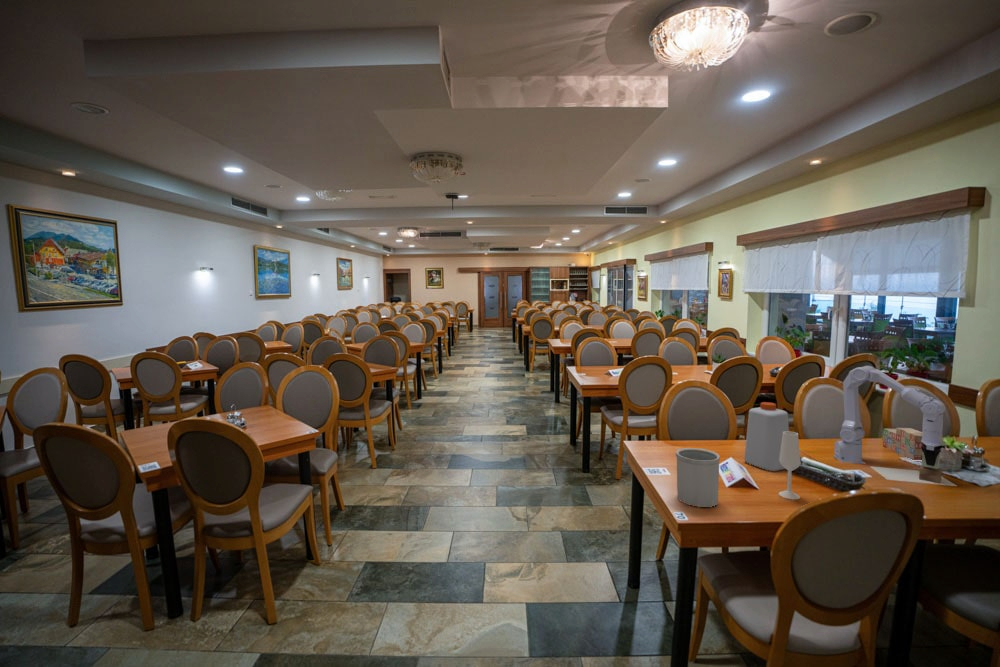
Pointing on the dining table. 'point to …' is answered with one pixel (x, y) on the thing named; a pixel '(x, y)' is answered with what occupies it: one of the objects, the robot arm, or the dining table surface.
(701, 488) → the utensil holder
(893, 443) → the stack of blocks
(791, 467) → the champagne flute
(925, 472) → the walnut base block
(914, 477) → the white flat sheet
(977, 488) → the dining table surface
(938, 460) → the green block
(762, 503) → the dining table surface
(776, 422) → the plastic bottle
